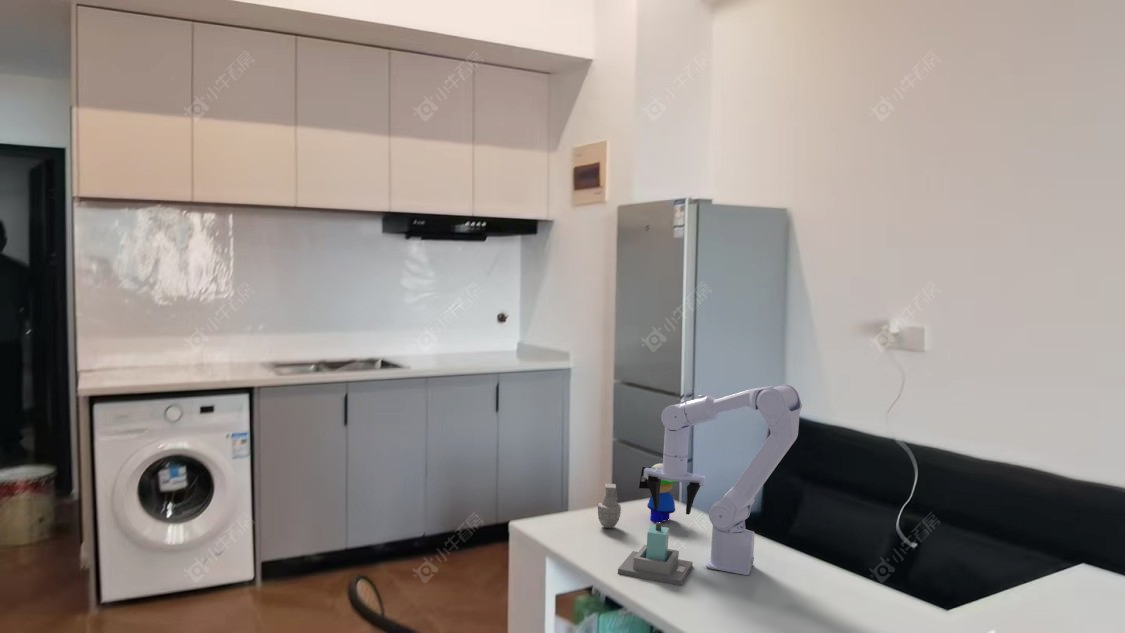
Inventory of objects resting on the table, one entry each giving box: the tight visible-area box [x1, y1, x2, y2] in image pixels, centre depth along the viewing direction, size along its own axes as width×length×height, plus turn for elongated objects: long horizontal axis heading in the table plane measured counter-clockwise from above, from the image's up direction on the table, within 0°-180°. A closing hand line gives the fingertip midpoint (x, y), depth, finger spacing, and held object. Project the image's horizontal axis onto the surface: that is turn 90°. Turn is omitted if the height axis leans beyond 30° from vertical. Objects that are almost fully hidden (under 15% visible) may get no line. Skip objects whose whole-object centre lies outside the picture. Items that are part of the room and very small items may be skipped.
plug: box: [646, 522, 670, 562], centre depth 172 cm, size 4×5×10 cm
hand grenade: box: [597, 483, 622, 529], centre depth 198 cm, size 6×6×11 cm
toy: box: [638, 463, 678, 523], centre depth 207 cm, size 9×9×15 cm
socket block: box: [617, 544, 694, 586], centre depth 172 cm, size 14×12×4 cm
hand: (672, 510), depth 184 cm, fingers open, 7 cm apart
